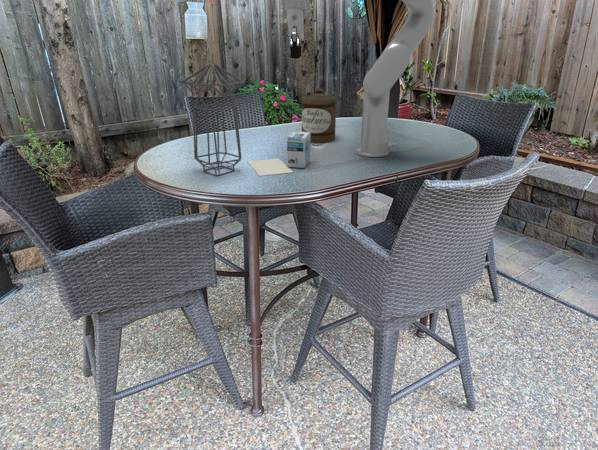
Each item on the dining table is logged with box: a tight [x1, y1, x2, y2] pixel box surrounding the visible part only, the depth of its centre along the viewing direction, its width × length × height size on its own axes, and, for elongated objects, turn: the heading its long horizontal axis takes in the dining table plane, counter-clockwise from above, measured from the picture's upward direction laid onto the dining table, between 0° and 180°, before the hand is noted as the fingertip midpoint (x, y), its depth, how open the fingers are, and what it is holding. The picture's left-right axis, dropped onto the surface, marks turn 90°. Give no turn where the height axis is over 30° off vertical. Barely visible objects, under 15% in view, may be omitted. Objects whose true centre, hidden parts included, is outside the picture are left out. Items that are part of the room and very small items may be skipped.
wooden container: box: [301, 87, 337, 144], centre depth 186 cm, size 15×15×22 cm
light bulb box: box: [286, 130, 312, 169], centre depth 153 cm, size 11×7×11 cm, turn 168°
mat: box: [247, 158, 294, 177], centre depth 152 cm, size 12×18×1 cm, turn 19°
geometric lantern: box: [181, 63, 246, 177], centre depth 141 cm, size 16×16×35 cm
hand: (296, 57), depth 159 cm, fingers open, 9 cm apart
